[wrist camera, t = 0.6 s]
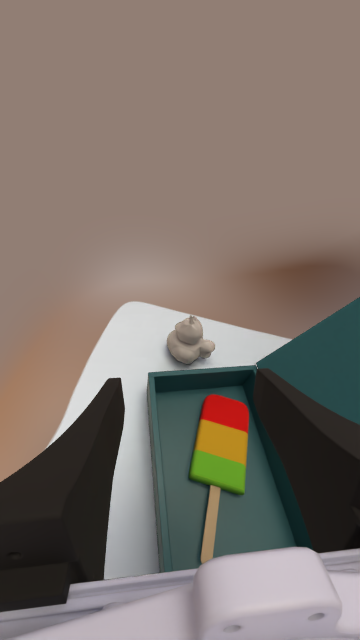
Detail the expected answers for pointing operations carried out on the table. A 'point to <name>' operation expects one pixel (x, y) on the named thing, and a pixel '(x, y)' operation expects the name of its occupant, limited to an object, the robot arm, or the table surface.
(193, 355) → the beige clay figurine
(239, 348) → the table surface
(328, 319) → the lunchbox lid
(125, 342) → the table surface
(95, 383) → the table surface
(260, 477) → the box
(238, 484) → the popsicle
